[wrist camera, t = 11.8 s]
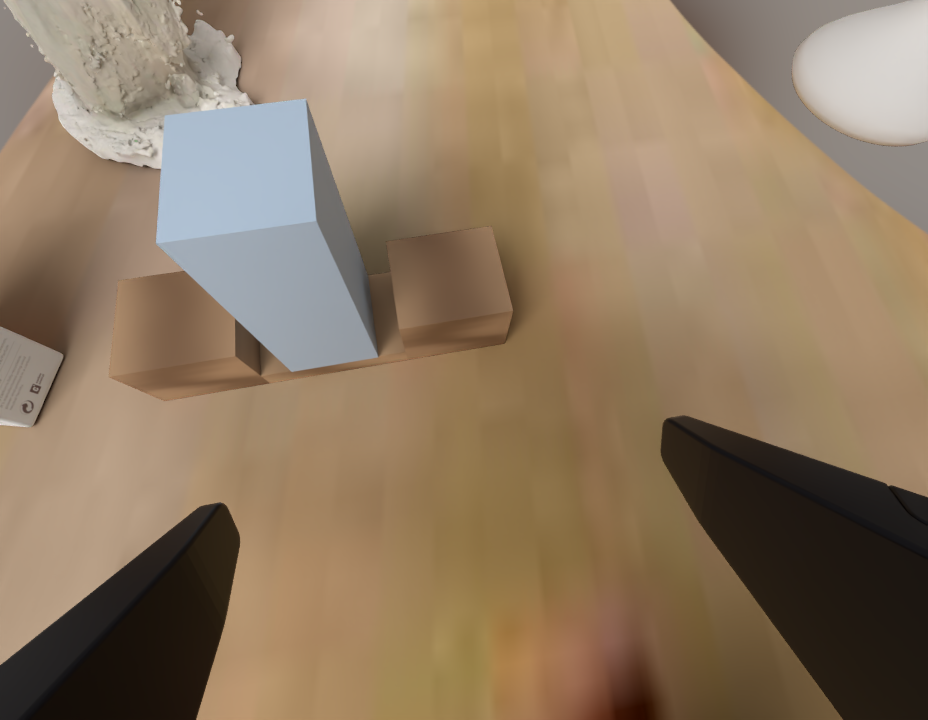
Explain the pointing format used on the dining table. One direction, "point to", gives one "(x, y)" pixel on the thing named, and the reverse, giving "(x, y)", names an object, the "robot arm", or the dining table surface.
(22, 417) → the skincare box
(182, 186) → the blue block
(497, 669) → the dining table surface
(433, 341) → the slotted plank
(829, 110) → the flower in vase
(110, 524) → the dining table surface
